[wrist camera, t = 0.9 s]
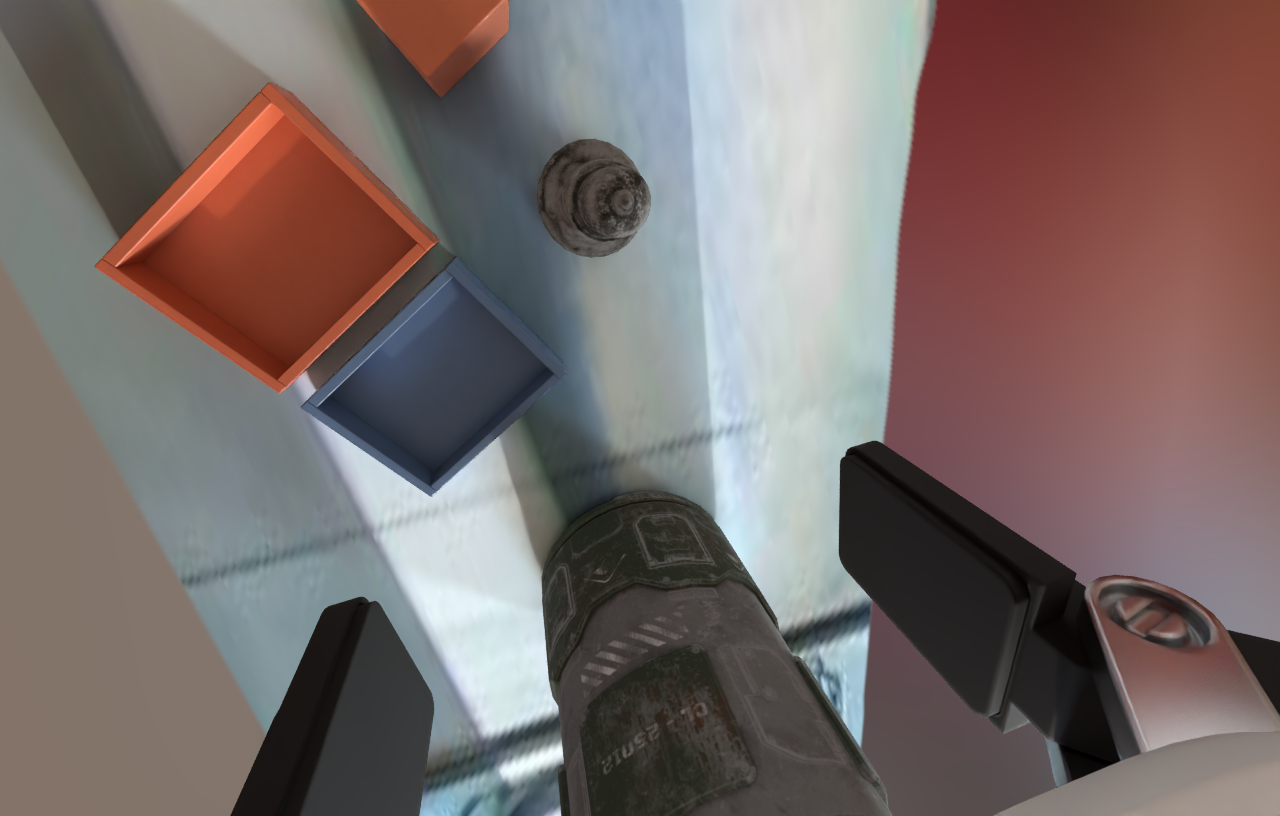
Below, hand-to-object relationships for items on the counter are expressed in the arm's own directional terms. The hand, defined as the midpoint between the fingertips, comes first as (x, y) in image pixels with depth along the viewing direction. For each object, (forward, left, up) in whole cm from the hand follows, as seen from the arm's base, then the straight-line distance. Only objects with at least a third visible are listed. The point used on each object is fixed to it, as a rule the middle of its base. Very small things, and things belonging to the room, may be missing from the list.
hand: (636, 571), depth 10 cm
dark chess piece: (-6, -3, -25) cm, 26 cm away
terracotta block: (-6, -14, -24) cm, 29 cm away
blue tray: (+8, -1, -24) cm, 26 cm away
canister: (+10, +21, -25) cm, 34 cm away
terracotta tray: (+8, -12, -24) cm, 28 cm away
